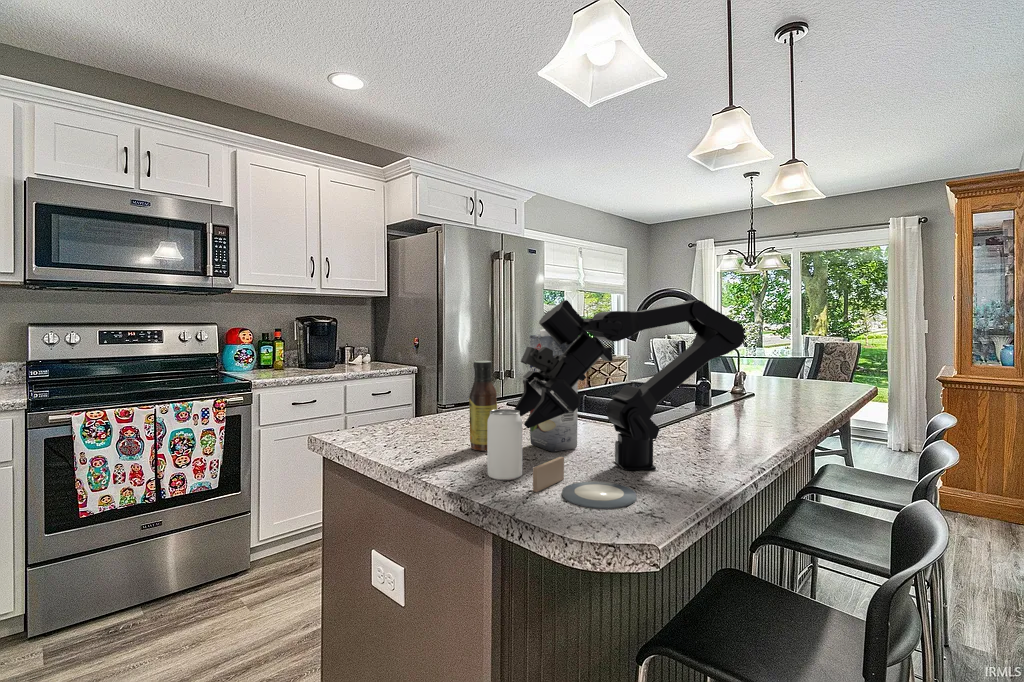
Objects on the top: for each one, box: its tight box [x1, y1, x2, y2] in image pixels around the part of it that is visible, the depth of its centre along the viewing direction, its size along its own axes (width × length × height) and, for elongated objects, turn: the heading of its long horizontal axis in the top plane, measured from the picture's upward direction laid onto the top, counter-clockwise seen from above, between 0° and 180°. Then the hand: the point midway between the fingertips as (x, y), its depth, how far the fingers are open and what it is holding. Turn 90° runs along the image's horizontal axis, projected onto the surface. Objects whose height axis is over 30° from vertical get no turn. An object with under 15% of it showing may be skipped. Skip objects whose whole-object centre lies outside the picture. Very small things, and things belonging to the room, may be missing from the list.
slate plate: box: [561, 480, 637, 509], centre depth 86 cm, size 12×12×1 cm
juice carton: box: [529, 328, 580, 453], centre depth 119 cm, size 9×10×27 cm
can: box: [486, 408, 523, 481], centre depth 97 cm, size 6×6×12 cm
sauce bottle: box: [468, 360, 498, 452], centre depth 117 cm, size 6×6×20 cm
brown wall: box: [532, 456, 565, 493], centre depth 91 cm, size 9×1×4 cm, turn 144°
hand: (519, 421), depth 97 cm, fingers open, 9 cm apart
